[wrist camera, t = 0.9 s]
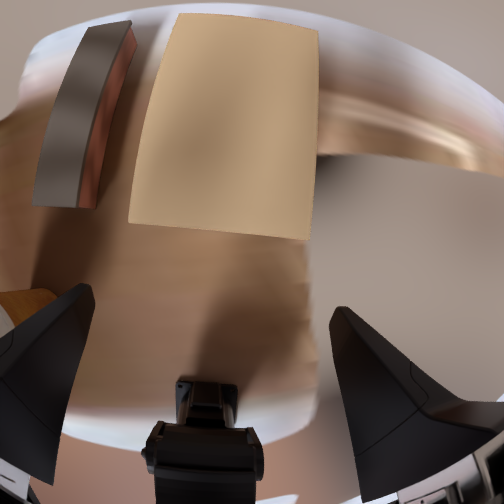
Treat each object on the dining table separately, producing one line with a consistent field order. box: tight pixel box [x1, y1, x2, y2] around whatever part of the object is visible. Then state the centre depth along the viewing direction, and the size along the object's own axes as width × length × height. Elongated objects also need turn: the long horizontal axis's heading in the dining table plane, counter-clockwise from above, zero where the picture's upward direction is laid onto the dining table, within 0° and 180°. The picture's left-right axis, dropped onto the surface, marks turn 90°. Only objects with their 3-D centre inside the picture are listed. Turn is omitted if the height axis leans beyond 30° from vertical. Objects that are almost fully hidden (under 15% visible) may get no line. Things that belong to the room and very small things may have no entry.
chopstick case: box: [32, 20, 137, 209], centre depth 20 cm, size 20×5×5 cm, turn 174°
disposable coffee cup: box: [0, 288, 58, 338], centre depth 17 cm, size 10×10×12 cm
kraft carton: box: [128, 13, 319, 240], centre depth 19 cm, size 14×9×11 cm, turn 174°
